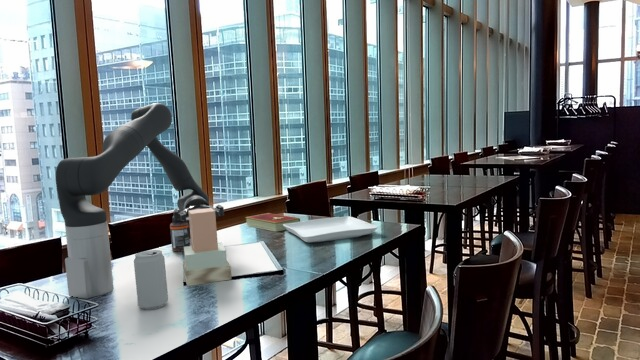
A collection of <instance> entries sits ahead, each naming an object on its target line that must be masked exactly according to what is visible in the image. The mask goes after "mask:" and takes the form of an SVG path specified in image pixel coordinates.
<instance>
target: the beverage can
mask: <svg viewBox="0 0 640 360" xmlns="http://www.w3.org/2000/svg"><path fill="white" fill-rule="evenodd" d="M133 267H134V269H133V270H134V277H135V286H136V296H137V297H136V298H137V306H138V307H139V308H141V309H143V310H157V309H160V308H162V307H165V305H166V304H167V303H168V302H169V294H168V293H169V292H168V283H167V282H168V281H167V272H166V259H165V255H164V254H163V251H162V250H159V249H151V250H144V251H140V252H138V253H137V252H136V253H135V254H134V260H133Z"/></svg>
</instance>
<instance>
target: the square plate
mask: <svg viewBox="0 0 640 360" xmlns="http://www.w3.org/2000/svg"><path fill="white" fill-rule="evenodd" d="M283 226H284V227H285V228H286V230H287V231H288V232H290V233H291V234H293V235H295V236H297V237H298V238H300V239H301V240H302V241H304V242H306V243H322V242H331V241H337V240H343V239H344V240H345V239H349V238H350V239H353V238H359V237H362V236H366V235H370V234H372V233H374V232H375V231H376V230H377V229H379V227H378V226H376V225H374V224H372V223H369V222H367V221H366V220H365V221H364V220H363V219H359V218H356V217H353V216H349V215H348V216H347V215H346V216H336V217H325V218H316V219H307V220H303V221H301V220H300V222H295V223H288V224H283Z"/></svg>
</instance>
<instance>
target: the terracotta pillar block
mask: <svg viewBox="0 0 640 360" xmlns="http://www.w3.org/2000/svg"><path fill="white" fill-rule="evenodd" d="M188 213H189V220H188V225H189V236H190V246H191V248H192V249H193V251H194V253H195V252H202V251H210V250H217V249H218V243H219V241H218V233H217V232H218V231H217V220H216V219H217V218H216V216H215V211H214V210H213V209H212V208H206V209H197V210H188Z"/></svg>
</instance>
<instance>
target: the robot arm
mask: <svg viewBox="0 0 640 360" xmlns="http://www.w3.org/2000/svg"><path fill="white" fill-rule="evenodd" d="M130 118H131V119H130V120H129V121H128V122H125V123H123V124H121V125H120V126H118V127H116V128H115V129H114V130H112V131H111V132H109V133H108V134H107V135H106V137H105V138H104V139H103V143H102V152H101V153H100V154H98V155H96V156H95V155H94V156H88V157H87V156H86V157H85V156H84V157H67V158H64V159H62V160H61V161H59V162H58V164H57V165H56V169H55V186H56V191H57V198H58V203H59V204H58V205H59V211H60V214H61V216H62V218H63V220H64V221H63V222H64V227H65V235H66V236H65V238H66V246H67V247H66V248H67V256H68V257H66V258H65V259H64V263H65V274H66V281H67V290H68V291H67V293H68V297H69V296H73V297H72V298H76V297H78V299H91V298H95V297H99V296H103V295H106V294H108V293H111V292H112V291H113V290H114V288H115V287H114V279H113V277H114V276H113V268H112V259H111V249H110V239H109V237H110V236H109V227H108V217H107V212H106V210H105V209H103V208H101V207H98V206H96V205H94V204H91V203H90V202H89V200H88V199H87V197H86V196H97V195H100V194H102V193H105V191H106V190H108V189H109V188H110V186H111V185H112V184H113V182H114V180H115V179H116V178H117V177H118V175H119V174H120V173H121V172H122V170H124V169H125V167H126V166H128V164H129V163H130V162H131V161H133V160H134V159H135V158H137V156H138V155H139V154H141V152H142V151H143V150H144V149H145V148H146V147H147V148H148V150H149V151H150V152H151V154H152V155H153V157H155V158H156V160H157V161H158V163H159V165H160V166H161V167H162V168H163V171H164V172H165V174H166V176H167V178H168V180H169V182H170V184H171V185H172V187H173V189H174V190H175V191H176V192H182V191H187V190H191V191H190V192H188V193H186V194H183V195H182V196H180V197H179V198H178V199H177V203H176V204H177V208H175V209H173V211H172V214H173V216H174V221H177V220H179V219H181V220H182V221H184V222H187V221H189V213H188V210H197V209H206V208H212V209H213V210H214V211H215V216H216V219H218V218H219V217H223V216H225V212H224V211H225V210H224V208H225V207H224V206H222V205H220V204H217V205H215V207H214V206H213V205H210V204H209V203H210V198H209V195H208V194H207V193H206V192H205V191H204V189H202V188H201V187H200V185H199V184H198V183H197V182H196V181H195V179H194V178H193V176H192V173H191V171H190V170H189V168H188V166H187V164H186V163H185V161H184V160H183V158H181V157H180V156H179V155H178V154H176V153H175V152H173V151H172V150H170V149H169V148H168V147H166V146H165V145H164V144H163V143H162V142H161V141H160V140H159V139H158V136H159V135H161V134H162V133H164V132H165V131H167V130H169V129H170V127H171V125H172V122H173V116H172V113H171V110H170V108H169V107H168V106H167V105H166V104H164V103H160V102H153V103H149V104H147V105H144V106H142V107H138V108H136V109H134V110H132V113H131V117H130Z"/></svg>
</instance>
